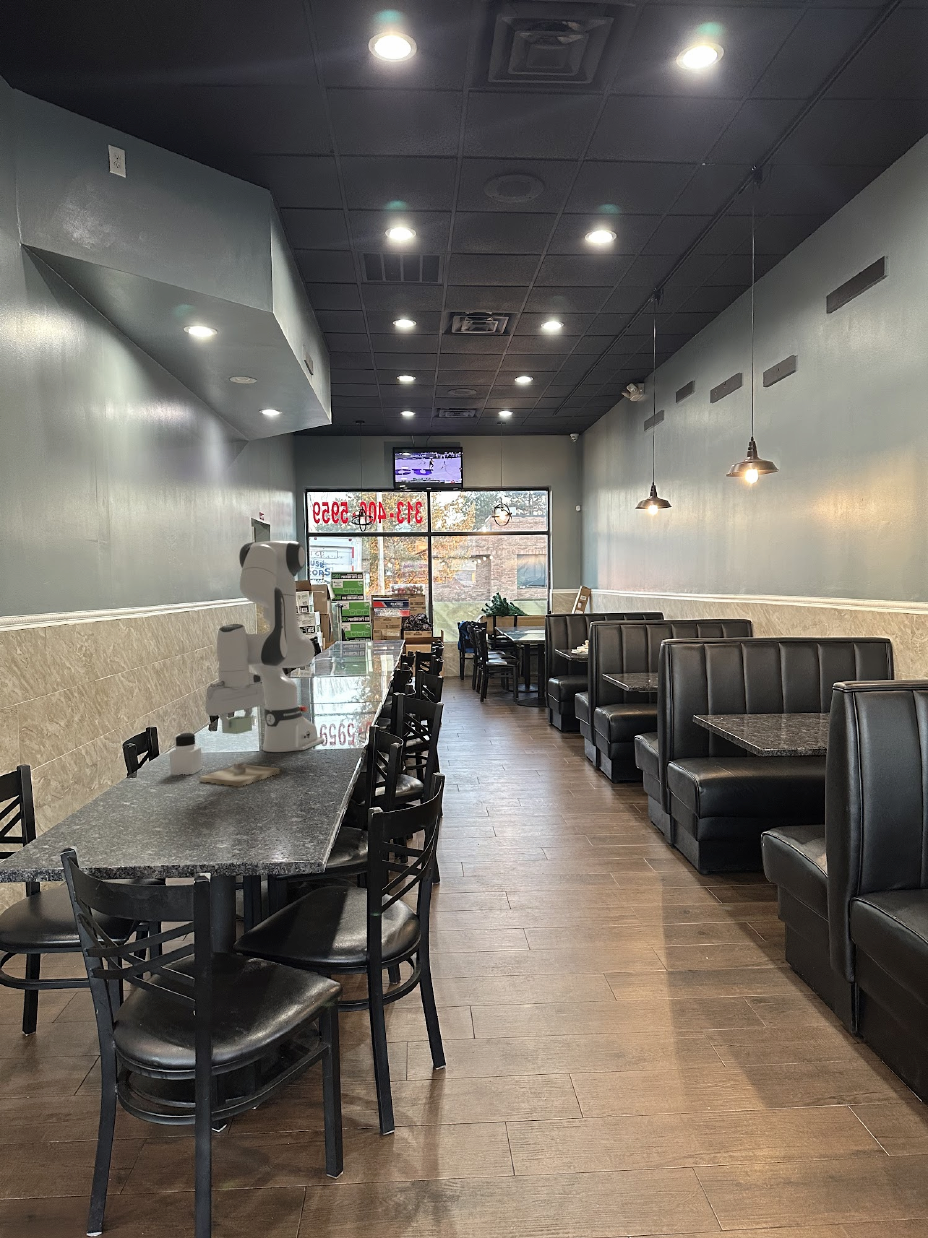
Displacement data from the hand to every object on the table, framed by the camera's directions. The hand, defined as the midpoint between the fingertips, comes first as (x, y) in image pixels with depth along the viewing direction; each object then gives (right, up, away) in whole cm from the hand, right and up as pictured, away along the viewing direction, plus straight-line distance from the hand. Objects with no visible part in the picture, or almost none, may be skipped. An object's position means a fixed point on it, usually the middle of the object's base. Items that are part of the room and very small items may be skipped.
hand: (237, 726), depth 234 cm
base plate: (+1, -16, +1) cm, 16 cm away
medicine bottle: (-19, -16, +11) cm, 27 cm away
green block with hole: (0, -2, 0) cm, 2 cm away
